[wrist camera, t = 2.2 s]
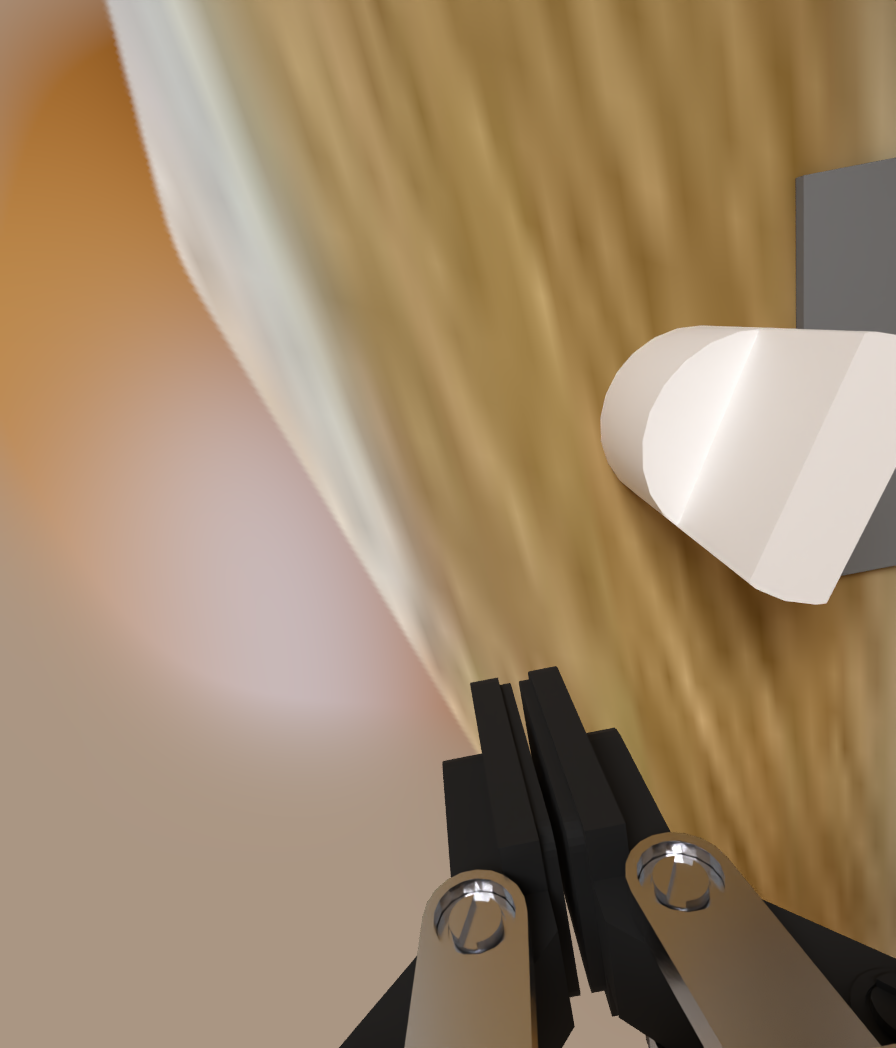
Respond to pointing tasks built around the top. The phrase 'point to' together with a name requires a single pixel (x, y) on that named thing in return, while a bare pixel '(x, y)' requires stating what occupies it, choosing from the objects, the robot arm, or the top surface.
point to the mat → (851, 290)
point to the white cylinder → (760, 444)
